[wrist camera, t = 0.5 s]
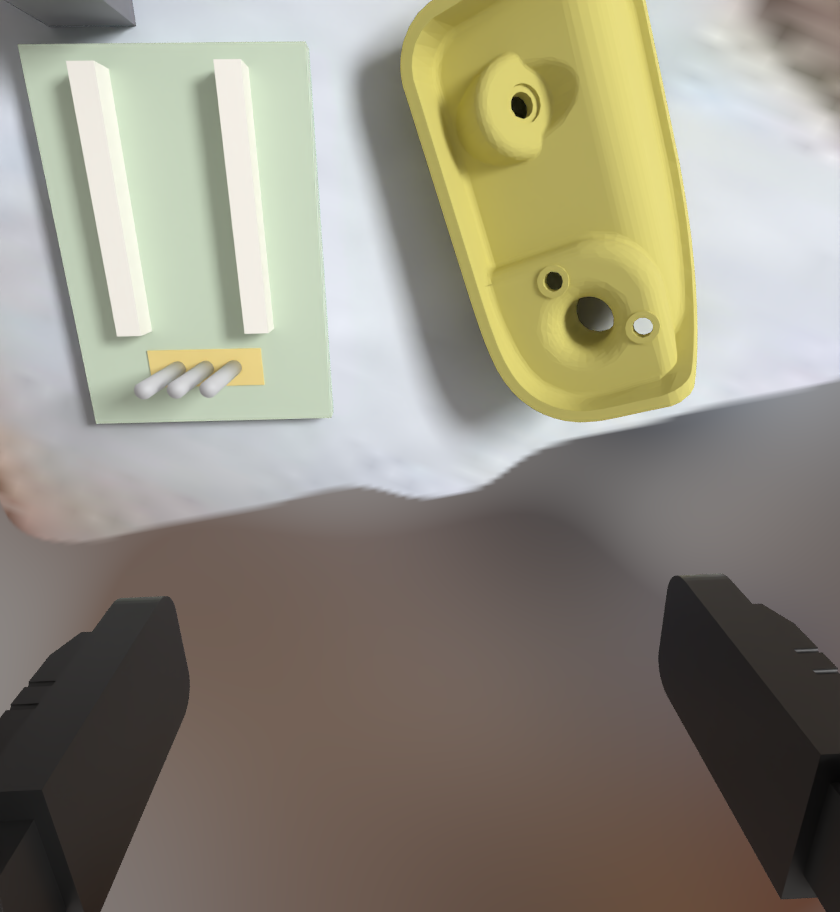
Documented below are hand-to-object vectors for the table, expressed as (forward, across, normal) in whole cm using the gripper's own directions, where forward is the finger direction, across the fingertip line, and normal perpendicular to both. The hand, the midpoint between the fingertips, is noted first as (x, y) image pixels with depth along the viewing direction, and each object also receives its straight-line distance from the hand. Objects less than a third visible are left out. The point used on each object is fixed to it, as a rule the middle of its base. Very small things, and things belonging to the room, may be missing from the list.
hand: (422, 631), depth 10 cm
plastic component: (+27, -8, -7) cm, 28 cm away
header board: (+26, +11, -5) cm, 29 cm away
